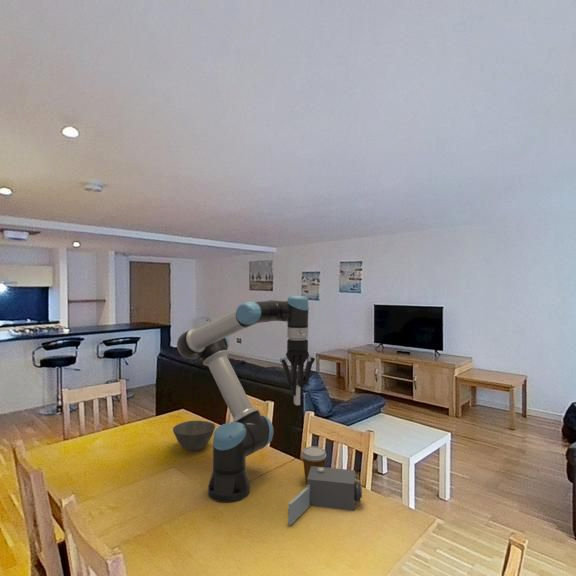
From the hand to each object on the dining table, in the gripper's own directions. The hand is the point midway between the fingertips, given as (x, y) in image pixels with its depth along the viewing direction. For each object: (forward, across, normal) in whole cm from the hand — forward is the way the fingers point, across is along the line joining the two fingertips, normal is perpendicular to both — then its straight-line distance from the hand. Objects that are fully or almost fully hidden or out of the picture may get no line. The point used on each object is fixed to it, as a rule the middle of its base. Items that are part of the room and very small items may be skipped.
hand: (296, 404), depth 144 cm
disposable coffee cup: (+33, +9, +5) cm, 34 cm away
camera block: (+32, +11, -9) cm, 35 cm away
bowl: (+33, -31, +50) cm, 67 cm away
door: (+32, -4, -13) cm, 35 cm away
